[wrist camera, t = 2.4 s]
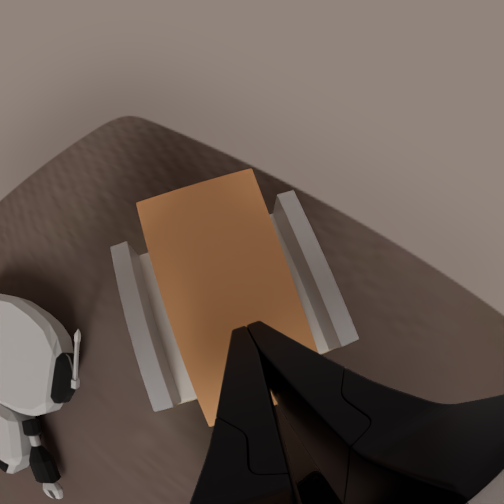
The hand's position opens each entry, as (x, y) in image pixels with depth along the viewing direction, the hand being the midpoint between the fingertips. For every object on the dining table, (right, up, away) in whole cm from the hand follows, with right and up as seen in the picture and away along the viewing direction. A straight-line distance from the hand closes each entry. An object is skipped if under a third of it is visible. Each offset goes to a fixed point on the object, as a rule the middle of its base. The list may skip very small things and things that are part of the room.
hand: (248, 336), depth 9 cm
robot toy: (-18, -9, +10) cm, 22 cm away
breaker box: (-1, -3, +12) cm, 13 cm away
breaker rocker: (-1, +1, +4) cm, 4 cm away
